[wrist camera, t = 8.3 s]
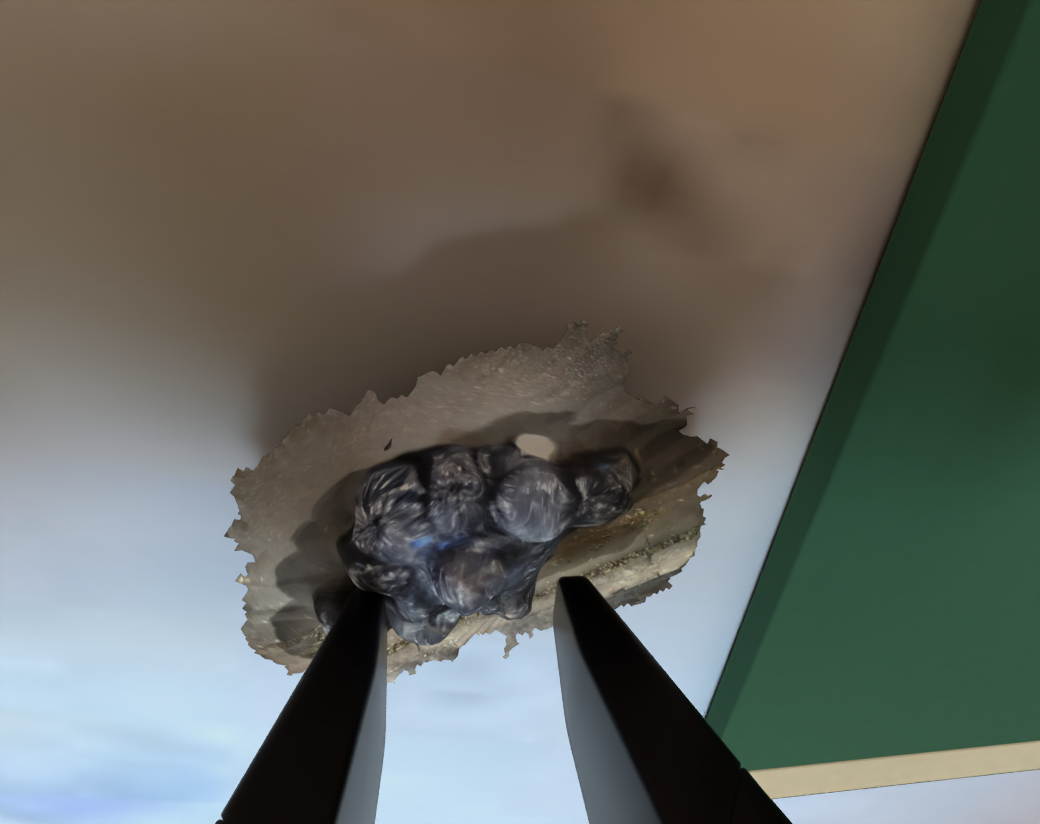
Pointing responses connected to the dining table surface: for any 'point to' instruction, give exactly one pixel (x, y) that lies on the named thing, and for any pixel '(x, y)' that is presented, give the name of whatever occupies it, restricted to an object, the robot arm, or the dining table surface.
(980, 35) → the green flat rectangular block
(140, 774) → the dining table surface
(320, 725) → the robot arm
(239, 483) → the blueberries
